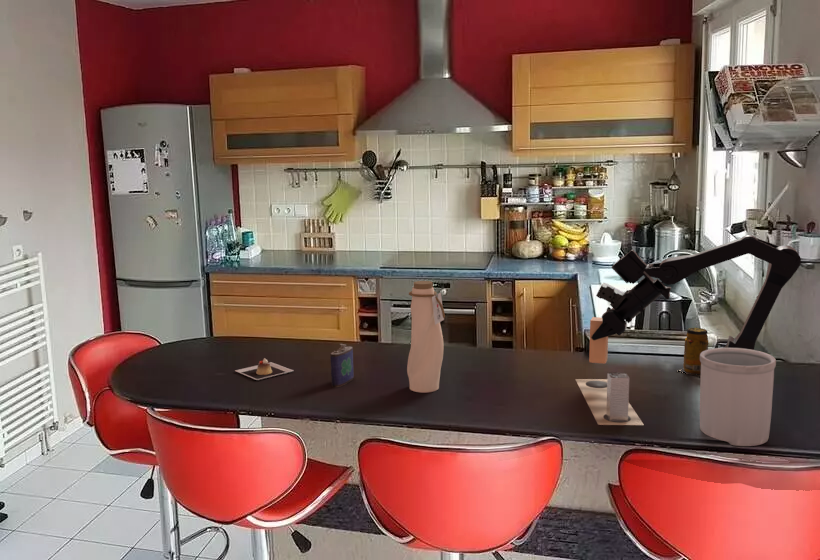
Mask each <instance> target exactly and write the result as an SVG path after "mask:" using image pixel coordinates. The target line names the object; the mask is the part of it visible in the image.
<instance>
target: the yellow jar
mask: <svg viewBox="0 0 820 560" xmlns="http://www.w3.org/2000/svg"><path fill="white" fill-rule="evenodd" d="M683 347H684V350H683V352H684V353H683V367H682V368H683V369H684V371H685V372H686V375H691V376H695V377H700V378H701V362H700V354H701V352H703V351H705V350H709V340H708V329H705V328H701V327H689V328H687V330H686V337H685V339H684V346H683ZM678 370H679V371H681V370H682V369H678ZM682 374H684V373H683V372H682Z"/></svg>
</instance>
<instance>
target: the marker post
mask: <svg viewBox="0 0 820 560" xmlns="http://www.w3.org/2000/svg"><path fill="white" fill-rule="evenodd" d="M602 322H603V320H602V317H601V316H600V317H598V316H592V318H591V319H590V320H589V353H588V354H589V355H588V356H589V357H588V358H589V359H588V360H589V361H588V362H589V363H593V364H603V365H604V364H606V363H607V361H608V358H609V357H608V352H609V349H608V348H609V336H607V337H604V338H600V339H597V340H593V339H592V338H591V336H592V335H593V334H594V333H595V331H596V330H597V329H598V328H599V326H600V325H601V324H602Z"/></svg>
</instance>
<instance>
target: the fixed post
mask: <svg viewBox="0 0 820 560" xmlns="http://www.w3.org/2000/svg"><path fill="white" fill-rule="evenodd" d="M606 376H607V377H606V379H607V406H606V415H607V417H608V419H609V420H610V421H628V403H630V402H629V400H630V376H629V375H628V373H626V372H607V375H606Z"/></svg>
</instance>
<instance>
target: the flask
mask: <svg viewBox="0 0 820 560" xmlns="http://www.w3.org/2000/svg"><path fill="white" fill-rule="evenodd" d="M339 345H340V347H339V348H338V349H337V350H333V351H332V352H330V357H329V358H330V375H331V387H332V388H340V387H342V386H345V385H347V384H348V383H350V382H351V381H353V380H354V377H355V376H354V375H355V374H354V349H353V346H347V344H343V343H339Z"/></svg>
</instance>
